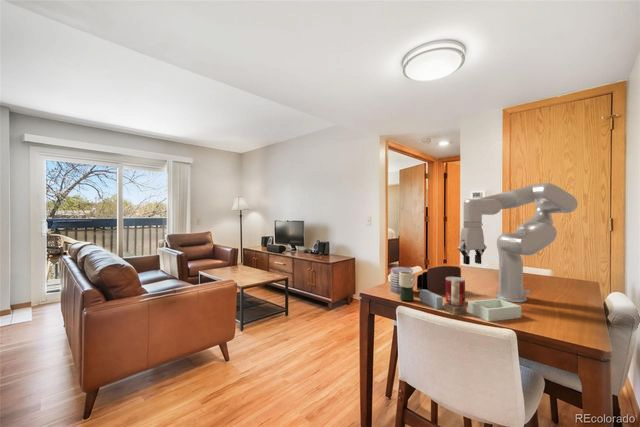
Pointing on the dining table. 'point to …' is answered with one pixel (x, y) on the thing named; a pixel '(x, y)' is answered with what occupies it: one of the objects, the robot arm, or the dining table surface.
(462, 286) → the canned food
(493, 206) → the robot arm
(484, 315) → the tray
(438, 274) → the letter holder
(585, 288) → the dining table surface
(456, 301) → the dowel
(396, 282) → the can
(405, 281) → the character mug
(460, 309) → the socket block
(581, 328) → the dining table surface
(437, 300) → the block
